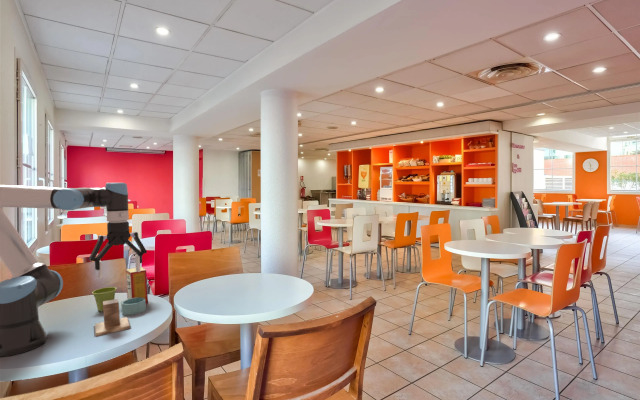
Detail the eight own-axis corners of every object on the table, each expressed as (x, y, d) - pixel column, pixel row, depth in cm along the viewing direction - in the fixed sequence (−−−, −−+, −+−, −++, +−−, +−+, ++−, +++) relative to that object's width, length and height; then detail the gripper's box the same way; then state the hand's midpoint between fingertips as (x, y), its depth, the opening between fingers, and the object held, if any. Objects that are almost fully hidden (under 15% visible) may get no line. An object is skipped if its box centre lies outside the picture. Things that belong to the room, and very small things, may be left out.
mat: (94, 338, 129) (94, 336, 129) (93, 327, 139) (93, 326, 139) (131, 329, 135) (131, 328, 135) (128, 320, 145) (128, 318, 145)
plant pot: (109, 312, 155) (108, 293, 154) (88, 313, 155) (87, 293, 155) (122, 305, 164) (121, 286, 164) (102, 305, 164) (100, 287, 164)
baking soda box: (127, 301, 169) (125, 268, 168) (142, 298, 173) (140, 266, 173) (132, 306, 162) (130, 272, 161) (148, 303, 166) (146, 269, 165)
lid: (95, 336, 129) (94, 309, 129) (95, 326, 138) (93, 301, 138) (129, 328, 135) (128, 302, 135) (127, 319, 144) (125, 295, 144)
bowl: (123, 317, 148) (122, 306, 148) (121, 311, 156) (120, 300, 155) (147, 312, 153) (146, 301, 153) (144, 307, 161) (143, 296, 160)
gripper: (83, 225, 128) (86, 282, 129) (154, 219, 147) (155, 270, 148) (78, 223, 134) (80, 279, 135) (147, 218, 152) (148, 267, 153)
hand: (119, 274), depth 141 cm, fingers open, 13 cm apart
